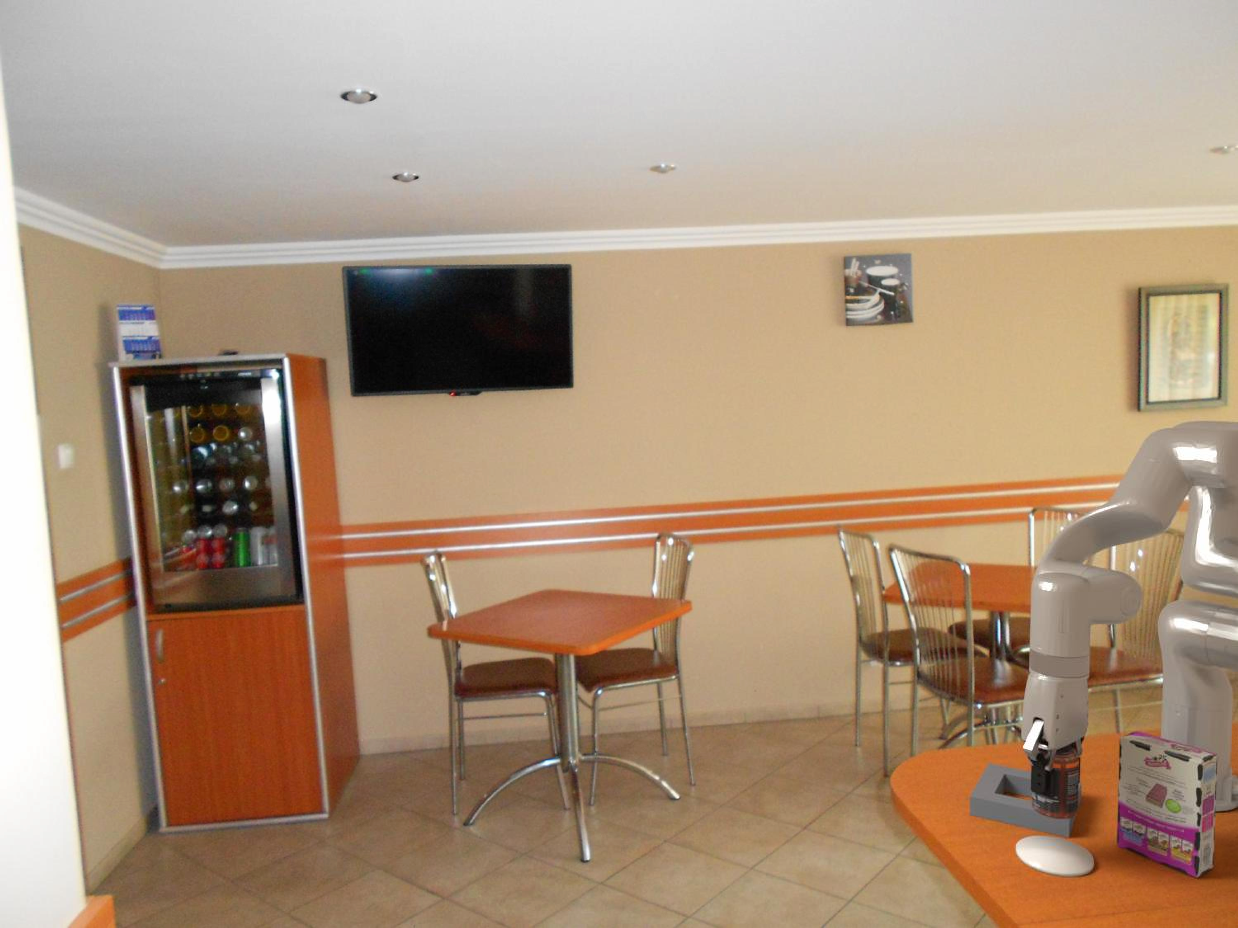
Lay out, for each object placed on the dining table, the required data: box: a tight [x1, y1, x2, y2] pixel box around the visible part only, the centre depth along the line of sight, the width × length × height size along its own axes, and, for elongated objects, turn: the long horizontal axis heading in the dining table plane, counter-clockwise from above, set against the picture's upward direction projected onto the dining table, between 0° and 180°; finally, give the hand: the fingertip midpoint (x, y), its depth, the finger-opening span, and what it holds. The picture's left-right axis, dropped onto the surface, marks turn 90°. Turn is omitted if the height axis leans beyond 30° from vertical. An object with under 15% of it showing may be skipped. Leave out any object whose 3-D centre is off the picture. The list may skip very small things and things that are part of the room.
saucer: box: [1015, 835, 1095, 878], centre depth 130 cm, size 10×10×1 cm
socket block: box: [969, 763, 1082, 838], centre depth 145 cm, size 14×14×3 cm
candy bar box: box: [1116, 730, 1218, 879], centre depth 129 cm, size 11×5×16 cm, turn 34°
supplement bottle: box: [1031, 740, 1080, 819], centre depth 129 cm, size 6×6×11 cm
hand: (1055, 786), depth 129 cm, fingers closed on supplement bottle, 6 cm apart
